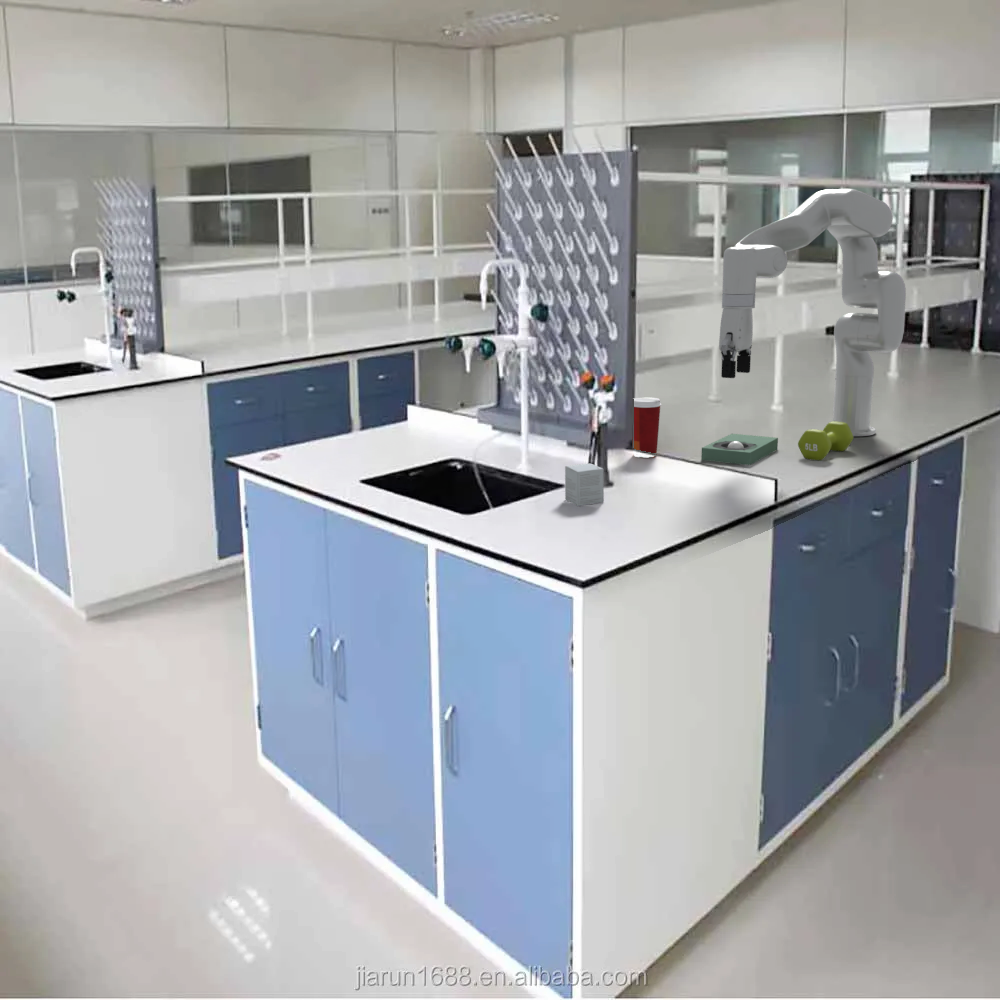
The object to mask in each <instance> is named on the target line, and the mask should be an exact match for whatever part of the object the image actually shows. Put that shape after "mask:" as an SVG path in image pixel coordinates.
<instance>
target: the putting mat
mask: <svg viewBox="0 0 1000 1000" xmlns="http://www.w3.org/2000/svg"><path fill="white" fill-rule="evenodd" d="M733 441H738V442H740V443H742V445H743V446H744V448H727V447H728V445H729V444H730V443H731V442H733ZM778 444H779V438H778V437H773V436H760V435H753V434H751V435H750V434H743V433H742V434H741V433H739V434H738V433H730V434H728V435H726V436H724V437H721V438H719V439H717V440H716V441H713V442H711V443H709V444H706V445H704V446H703V447H701V456H700V457H701V461H707V462H716V463H727V464H735V465H744V466H751V465H752V464H754V463H756V462H758V461H760V460H761V459H763V458H765V457H767V456H768V455H770V454H773V453H775V451H778V449H779V448H778Z"/></svg>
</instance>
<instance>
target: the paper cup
mask: <svg viewBox="0 0 1000 1000" xmlns="http://www.w3.org/2000/svg"><path fill="white" fill-rule="evenodd" d="M633 399H634V449H636V450H641V451H646V452H651V453H657V451H658V442H659V441H658V439H659V429H660V428H659V427H660V417H661V406H663V404H662V403H661V399H660V398H658V397H645V396H644V397H634V398H633Z"/></svg>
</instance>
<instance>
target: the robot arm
mask: <svg viewBox="0 0 1000 1000" xmlns="http://www.w3.org/2000/svg"><path fill="white" fill-rule="evenodd" d="M892 224H893V212H892V209H891V208H890V206H889V205H888V204H887V203H886V202H885V201H882V200H881V199H879V198H876V197H874V196H873V195H870V194H868V193H866V192H863V191H860V190H858V189H855V188H841V189H823V190H819V191H816V192H815V193H813V194H812V195H810V196H809V197H808V198H807V199H806V200H804V202H802V203H801V204H800V205H798V206H797V207H796V208H795V209H794V210H792V211H791V213H789V214H788V215H787V216H785V217H783V218H781V219H778V220H776V221H773V222H771V223H768V224H767V225H764V226H762V227H760V228H758V229H755V230H754V231H752V232H750V233H749V234H747V235H745V236H744V237H742V239H741V240H739V241H738V242H737V243H736V244H734V246H730V247H727V248H726V249H725V250H724V252H723V258H722V259H723V260H722V261H723V263H722V266H723V267H722V290H721V291H722V296H721V309H722V312H721V320H720V327H719V328H720V329H719V339H718V341H719V342H718V349H719V351H721V352H720V354H721V373H720V374H721V375H720V376H721V378H723V379H726V378H727V379H735V378H736V373H740V374H741V373H743V374H745V373H746V374H749V373H750V372H751V355H752V346H753V345H752V344H753V325H754V323H753V321H754V320H753V309H755V308H756V288H757V286H756V284H757V278H758V279H773V278H776V277H778V276H781V274H783V273H784V272H785V270H786V269H787V266H788V255H787V253H786V252H791V251H795V250H798V249H802V248H805V247H806V246H809V244H810V243H812V242H813V241H814V240H815V239H816V238H818V237H819V236H820V235H821V234H822V233H823V232H825V230H827V231H828V232H829V233H830V235H831V236H832V237H833V238H834V239H835V240H836V241H837V243H838V244H839V247H840V249H841V253H842V273H841V274H842V278H841V280H842V281H841V299H842V301H843V303H844V304H845V305H846V306H847V307H851V308H855V309H856V308H857V309H872V310H873V309H874V310H877V313H866V312H848V313H845V314H843V315H842V316H840V317H839V318H838V319H837V320H836V322H835V324H834V329H833V330H834V331H833V337H834V344H835V353H836V354H835V355H836V357H835V358H836V361H835V362H836V364H835V380H834V395H833V410H832V413H833V414H832V421H837V422H844V423H847V424H848V426H849V428H850V429H851V432H852V434H853V437H867V436H868V437H869V436H873V435H875V434H876V431H877V429H876V428H875V427H873V426H871V416H872V415H871V414H872V404H873V401H872V399H873V388H874V387H873V386H874V385H873V384H874V371H875V367H874V362H873V359H872V357H871V354H870V352H875V353H892V352H895V351H897V349H898V348H900V346H901V344H902V341H903V337H904V332H905V331H904V329H905V317H906V316H905V313H906V298H907V297H906V294H907V293H906V290H907V289H906V284H905V281H904V279H903V277H902V276H901V275H900V274H899V273H897V272H895V271H891V270H889V271H888V270H879V267H878V266H879V265H878V264H879V263H878V261H879V260H878V258H879V257H878V256H879V253H878V251H879V250H878V246H877V243H876V242H875V240H874V238H880V237H882V236H885V235H886V234H887V233H888V232H889V231H890V229H891V227H892ZM737 353H738V355H737ZM735 358H736V360H735Z"/></svg>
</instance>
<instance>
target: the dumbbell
mask: <svg viewBox="0 0 1000 1000" xmlns="http://www.w3.org/2000/svg"><path fill="white" fill-rule="evenodd" d="M824 426H825V427H824V428H823V429H815V428H814V429H812V428H811V429H807V430H805V431H804V432H803V433H802V435H801V436H800V438H799V440H798V442H797V446H798V448H799V450H800V453H801V455H802V457H803V458H804V459H806V460H810V459H811V461H822V460H824V459H825V457H827V455H828V454H829V453H830V451H831V450H832V452H833V451H834V452H844V451H846V450H847V449H848V447H850V445H851V443H852V442H853V440H854V436H853V434H852V432H851V429H850V428H849V426H848V424H847V423H844V422H837V421H833V420H832V421H829V422H828V423H827V424H826V425H824Z"/></svg>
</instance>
